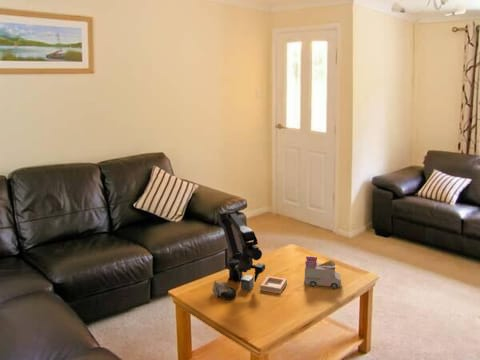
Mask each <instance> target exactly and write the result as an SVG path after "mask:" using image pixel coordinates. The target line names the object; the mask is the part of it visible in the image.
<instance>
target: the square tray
mask: <svg viewBox="0 0 480 360" xmlns="http://www.w3.org/2000/svg"><path fill="white" fill-rule="evenodd" d="M287 283H288V279H287V278H283V277H276V276H271V275H267V276H266V278H265V279H264V280H263V281H262V282H261V284H260V287H259V288H260V291H265V292H269V293H276V294H281V293H282V292H283V290H284V289H285V287H286V285H287Z"/></svg>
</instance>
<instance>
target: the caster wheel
mask: <svg viewBox="0 0 480 360" xmlns="http://www.w3.org/2000/svg"><path fill="white" fill-rule="evenodd" d="M212 292H213V294H214V296H215V297H217V298H218V296H219V297H221V298H222V299H225V300H228V301H229V300H230V301H232V300H234V299H236V296H237V291H236V289H235V288H233V287H232V286H231V285H230V284H229V283H227V282H225V281H222V282H217V281H216V280H214V282H213V288H212Z"/></svg>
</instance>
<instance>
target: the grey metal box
mask: <svg viewBox="0 0 480 360" xmlns="http://www.w3.org/2000/svg"><path fill="white" fill-rule="evenodd" d="M242 276H243V277H242V278H241V280H240V290H242V291H247V292H250V291H251V290H252V288H253V287H254V283H255V281H254V279H255V275H249V274H244V275H242Z"/></svg>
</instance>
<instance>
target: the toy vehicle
mask: <svg viewBox="0 0 480 360" xmlns="http://www.w3.org/2000/svg"><path fill="white" fill-rule="evenodd" d="M305 259H306V260H305V264H304V266H305V267H304V278H303V285H309V287H311V288H315V287H317V286H324V287H331V289H332V290H336V289H338V288H341V287H342V279H341V273H338V272H337V271H335V270H336V267H335V266H336V263H335V261H334V260H332V259H329V260H328V261H325V262H323V263H319V262H318V261H317V260H318V257H316V256H305Z"/></svg>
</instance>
